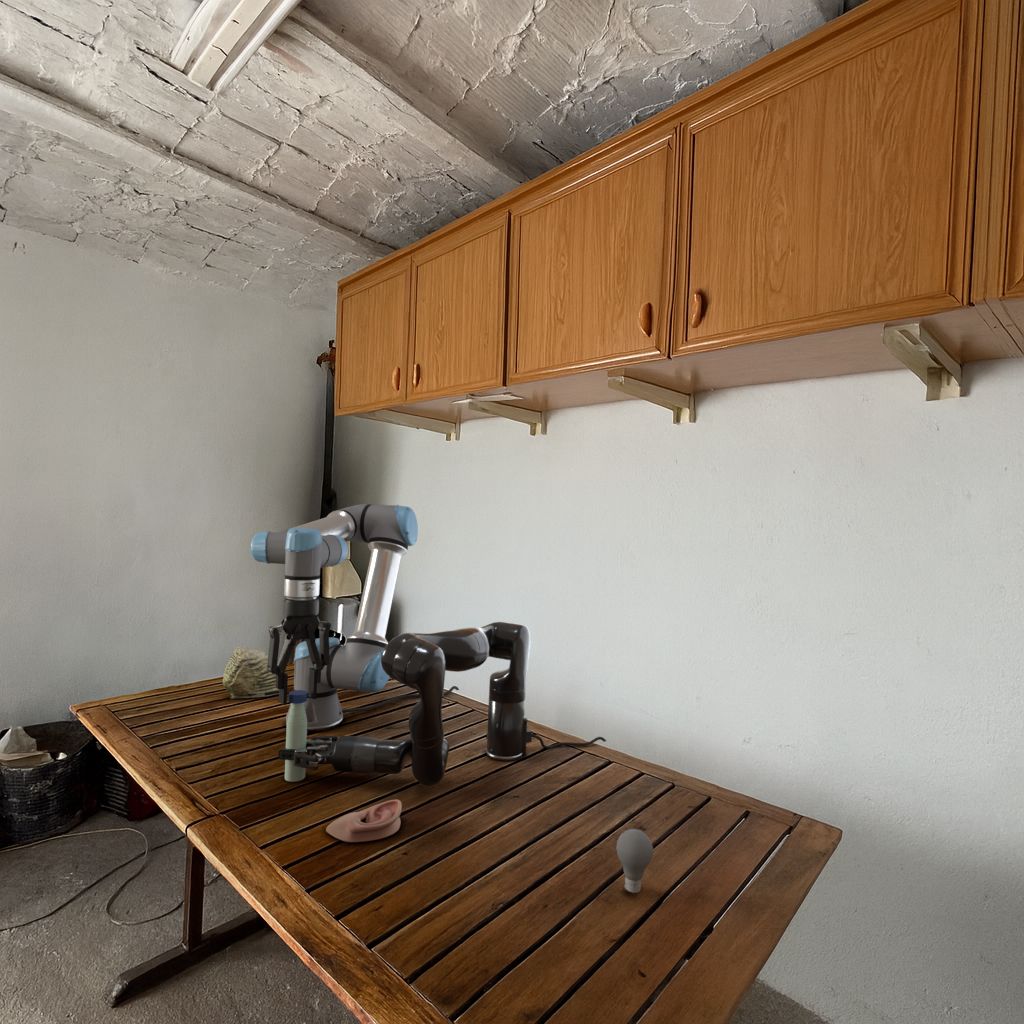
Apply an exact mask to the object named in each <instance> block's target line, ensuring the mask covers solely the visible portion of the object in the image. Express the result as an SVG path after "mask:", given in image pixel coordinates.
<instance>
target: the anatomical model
mask: <svg viewBox="0 0 1024 1024" xmlns="http://www.w3.org/2000/svg"><path fill="white" fill-rule="evenodd" d="M402 808H403V804H402V802H401V800H399V799H391V800H387V801H383V802H380V803H377V804H374V805H372V806H370V807H367V808H365V809H362V810H360V811H353V812H350V813H347V814H344V815H342V816H340V817H338V818H337V819H335V820H333V821H332V822H330V823H329V825H327V826H326V828H325V832H326V833H327V834H329V835H330V836H332V837H333V838H335V839H338V840H340V841H342V842H345V843H360V842H361V843H363V842H371V841H375V840H381V839H384V838H387V837H389V836H392V835H394V834H395V833H397V832H398V831H399V829H400V827H401V824H402V823H401V817H400V816H401V813H402Z"/></svg>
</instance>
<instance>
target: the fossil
mask: <svg viewBox="0 0 1024 1024" xmlns="http://www.w3.org/2000/svg"><path fill="white" fill-rule="evenodd" d="M267 663H268V654H267V653H266V652H265V650H264V649H263V648H260V647H258V648H251V647H247V646H246V647H245V646H238V647H237V648H236V649H235V650H233V651H232V653H231V656H230V657H229V659H228V660H227V663H226V666H225V668H224V671H223V675H222V676H223V677H222V685H223V687H224V688H225V690H226V691H228V693H229V698H230V699H250V698H264V697H271V696H275V695H279V689H277V688H276V686H275V682H276V681H275V680H276V674H275V673H271V672H269V671H268V670H267Z"/></svg>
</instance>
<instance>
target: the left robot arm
mask: <svg viewBox="0 0 1024 1024" xmlns="http://www.w3.org/2000/svg"><path fill="white" fill-rule="evenodd" d="M418 525H419V524H418V519H417V516H416V513H415V512H414V510H413V508H411V507H410V506H405V505H400V504H371V503H362V504H361V503H360V504H355V505H351V506H347V507H344V508H339V509H336V510H333V511H331V512H330V513H328V515H327V516H326V517H323V518H320V519H316V520H313V521H310V522H307V523H303V524H300V525H297V526H293V527H291V528H287V529H283V530H279V531H274V532H273V531H260V532H257V533H256V534H255V535H254V536H253V537H252V540H251V542H250V554H251V557H252V559H254V560H255V561H256V562H258V563H264V564H265V563H266V564H267V565H269V564H275V565H284V583H283V584H284V585H283V597H285V598H284V599H283V610H282V615H283V617H282V620H281V622H280V624H277V625H275V626H273V625H270V626H268V633H269V637H270V638H269V647H268V654H267V655H268V663H267V670H268V671H269V672H271V673H275V674H276V680H275V681H276V682H275V686H276V688H277V689H279V694H278V702H279V703H280V704H281V705H282V706H285V705H287V704H288V684H289V683H288V681H289V674H288V673H286V670H287V667H288V664H289V661H290V658H291V655H292V652H293V650H294V646H295V645H296V643H297V641H299V640H304V641H302V642H299V643H298V644H297V645H296V647H295V652H294V653H295V654H294V659H293V661H294V672H293V691H295V690H304V691H307V701H306V702H304V707H305V711H306V712H305V713H306V717H307V733H316V732H325V731H329V730H332V729H335V728H337V727H339V726H340V725H342V723H343V722H344V713H352V712H353V713H354V712H365V711H369V710H373V709H375V708H376V709H377V708H379V707H381V706H385V705H388V704H390V703H391V702H393V701H397V700H400V699H407V698H408V699H409V698H420V695H419V693H415V694H403V695H402V694H401V695H398V696H394V697H391V698H389V699H387V700H385V701H382V702H378V703H376V704H373V705H369V706H366V707H353V708H345V709H342V706H341V702H340V699H339V695H338V689H339V690H347V691H354V692H360V693H377V692H380V691H381V690H382V689H383V688H384V687H385V686H386V685H387V684H388V682H389V680H390V678H391V677H390V676H388V675H387V674H386V673H385V671H384V670H383V668H382V664H381V656H382V653H383V650H384V648H385V647H386V645H387V644H388V643H389V641H388V640H387V638H386V634H387V629H388V624H389V619H390V614H391V610H392V609H391V608H392V604H393V599H394V594H395V588H396V584H397V580H398V579H397V578H398V574H399V568H400V563H401V558H402V557H404V556H405V555H406V554H408V551H409V550H408V549H409V547H412V546H415V545H416V543H417V542H418V536H419V526H418ZM347 542H355V543H367V547H368V549H369V550H370V552H371V553H370V557H369V562H368V567H367V572H366V576H365V581H364V585H363V590H362V594H361V599H360V602H359V603H360V604H359V608H358V613H357V618H356V621H355V622H356V623H355V627H354V632H353V633H352V634H350V635H349V636H347V638H346V641H345V644H343V645H342V644H340V643H341V641H340V639H339V638H338V637H334V636H333V637H330V631H331V627H332V623H331V622H328V621H326V620H323V621H322V620H320V618H319V612H320V599H319V598H318V597H319V595H320V584H321V582H320V581H321V569H322V568H329V567H335V566H337V565H341V564H342V563H343V562H344V561H345V560H347V559H346V558H347V557H348V553H349V546H348V543H347ZM317 629H318V632H319V634H318V636H319V637H318V638H316V636H315V632H316V630H317ZM282 632H284V633H285V637H284V643H283V645H282V648H281V651H280V642H281V637H280V636H281V635H282ZM279 651H280V654H279ZM454 690H456V691H460V689H459V687H458V686H456V685H453V686H451V687H450V688H449V689H448V690H447V691H443V697H444V696H446V695H449V694H451V693H452V692H453V691H454ZM290 708H291V703H289V708H288V711H287V713H286V715H285V726H286V727H287V718H288V715H289V712H290Z"/></svg>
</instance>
